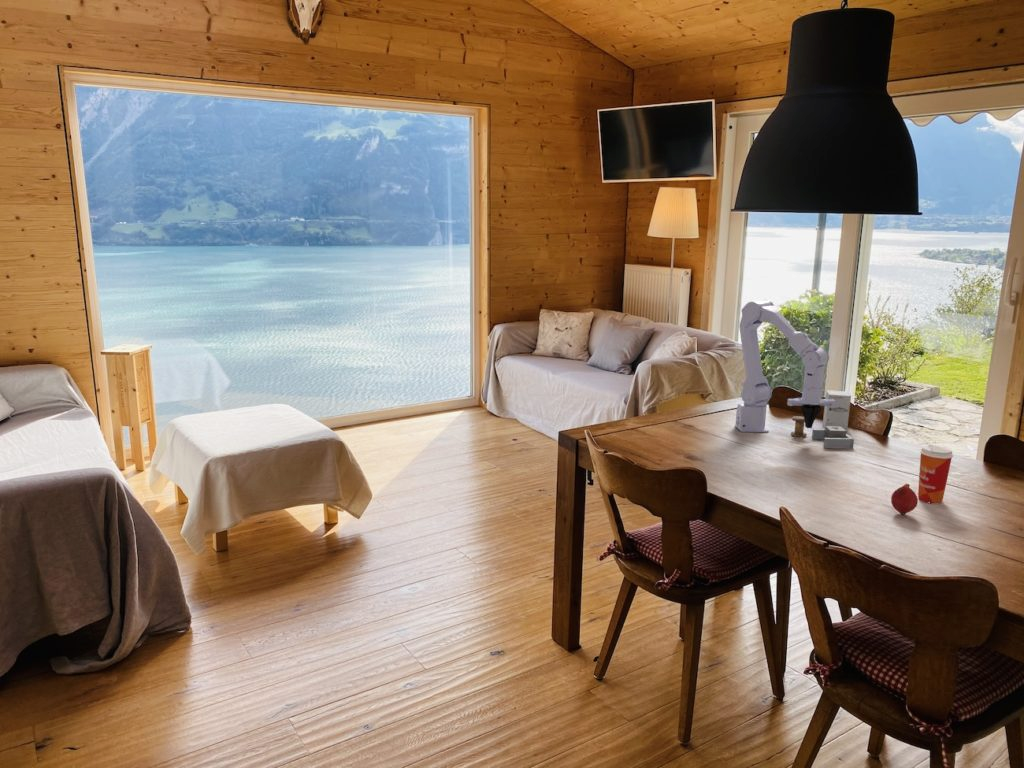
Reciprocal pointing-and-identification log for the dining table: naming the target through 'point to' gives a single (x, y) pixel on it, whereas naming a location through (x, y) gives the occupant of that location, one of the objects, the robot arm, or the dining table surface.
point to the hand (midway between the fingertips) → (808, 427)
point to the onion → (904, 499)
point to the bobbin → (799, 427)
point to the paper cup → (933, 472)
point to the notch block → (833, 440)
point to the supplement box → (837, 409)
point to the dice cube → (834, 432)
